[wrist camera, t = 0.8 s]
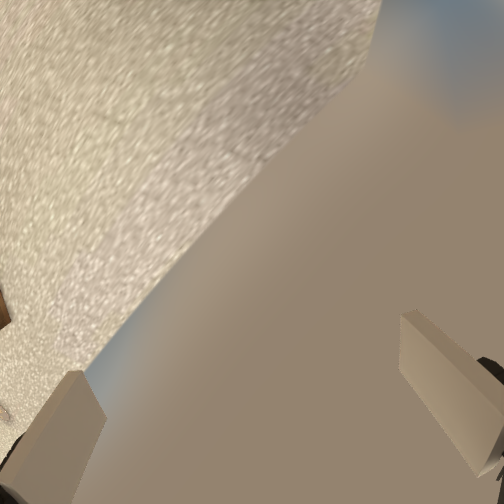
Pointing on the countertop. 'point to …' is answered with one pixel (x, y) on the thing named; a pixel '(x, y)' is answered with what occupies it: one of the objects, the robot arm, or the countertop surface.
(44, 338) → the countertop surface
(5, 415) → the wineglass
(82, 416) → the robot arm
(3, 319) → the lane
